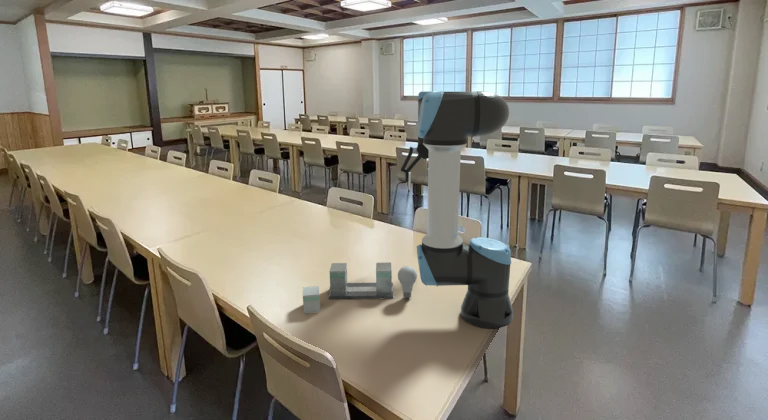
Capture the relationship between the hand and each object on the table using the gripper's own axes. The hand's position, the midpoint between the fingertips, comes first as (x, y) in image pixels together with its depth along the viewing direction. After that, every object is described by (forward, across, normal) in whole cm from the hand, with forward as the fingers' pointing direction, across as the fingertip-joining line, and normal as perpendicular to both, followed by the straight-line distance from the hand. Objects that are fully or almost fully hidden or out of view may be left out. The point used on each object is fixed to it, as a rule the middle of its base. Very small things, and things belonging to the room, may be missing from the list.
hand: (427, 189), depth 172 cm
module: (+28, +39, +44) cm, 65 cm away
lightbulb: (+28, +9, +37) cm, 47 cm away
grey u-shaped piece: (+28, +24, +32) cm, 49 cm away
